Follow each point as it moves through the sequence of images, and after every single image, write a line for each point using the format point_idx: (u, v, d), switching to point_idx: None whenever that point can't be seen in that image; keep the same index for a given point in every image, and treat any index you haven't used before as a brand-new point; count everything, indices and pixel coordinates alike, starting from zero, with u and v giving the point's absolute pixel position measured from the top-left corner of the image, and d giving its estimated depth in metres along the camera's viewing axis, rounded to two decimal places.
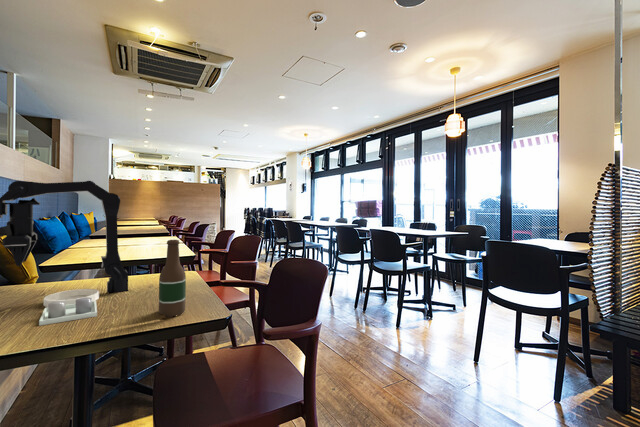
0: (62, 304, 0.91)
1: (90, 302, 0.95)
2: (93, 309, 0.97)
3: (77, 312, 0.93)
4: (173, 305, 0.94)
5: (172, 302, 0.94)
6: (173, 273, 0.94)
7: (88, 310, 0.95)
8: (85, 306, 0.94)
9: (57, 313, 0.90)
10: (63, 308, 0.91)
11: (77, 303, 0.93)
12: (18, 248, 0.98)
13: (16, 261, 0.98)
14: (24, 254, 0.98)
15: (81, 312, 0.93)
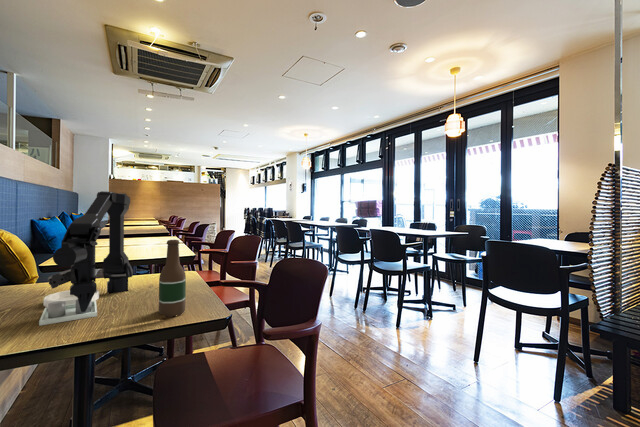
0: (62, 304, 0.91)
1: (90, 302, 0.95)
2: (93, 309, 0.97)
3: (77, 312, 0.93)
4: (173, 305, 0.94)
5: (172, 302, 0.94)
6: (173, 273, 0.94)
7: (88, 310, 0.95)
8: None
9: (57, 313, 0.90)
10: (63, 308, 0.91)
11: (77, 303, 0.93)
12: (84, 294, 0.92)
13: (81, 308, 0.93)
14: (89, 300, 0.93)
15: (81, 312, 0.93)
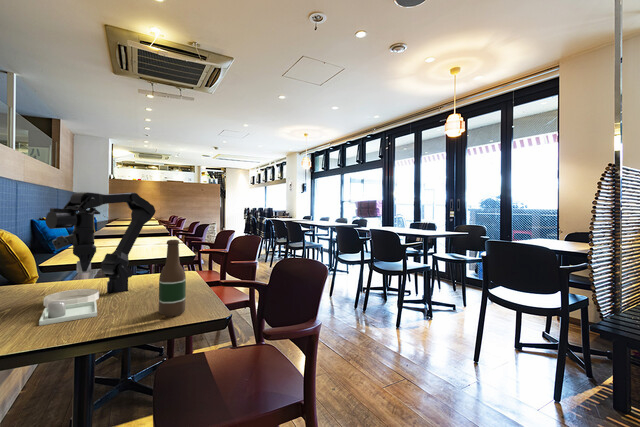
0: (62, 304, 0.91)
1: (90, 263, 1.07)
2: (93, 309, 0.97)
3: (78, 272, 1.05)
4: (173, 305, 0.94)
5: (172, 302, 0.94)
6: (173, 273, 0.94)
7: (88, 270, 1.07)
8: None
9: (57, 313, 0.90)
10: (63, 308, 0.91)
11: (78, 264, 1.05)
12: (84, 255, 1.05)
13: (82, 268, 1.05)
14: (89, 261, 1.05)
15: (82, 272, 1.05)
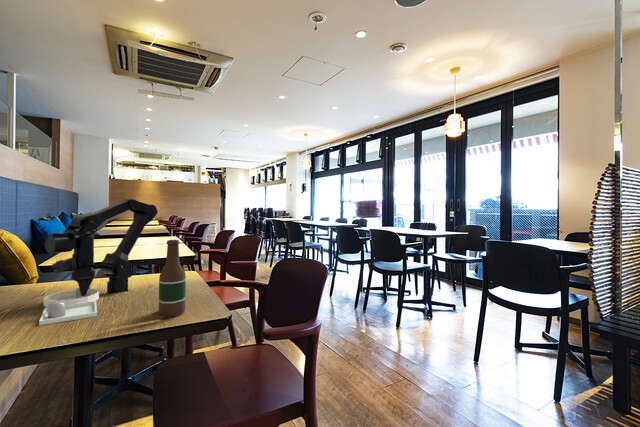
0: (62, 304, 0.91)
1: (89, 291, 1.08)
2: (93, 309, 0.97)
3: None
4: (173, 305, 0.94)
5: (172, 302, 0.94)
6: (173, 273, 0.94)
7: None
8: None
9: (57, 313, 0.90)
10: (63, 308, 0.91)
11: (77, 291, 1.06)
12: (83, 280, 1.04)
13: (81, 292, 1.04)
14: (88, 285, 1.04)
15: None
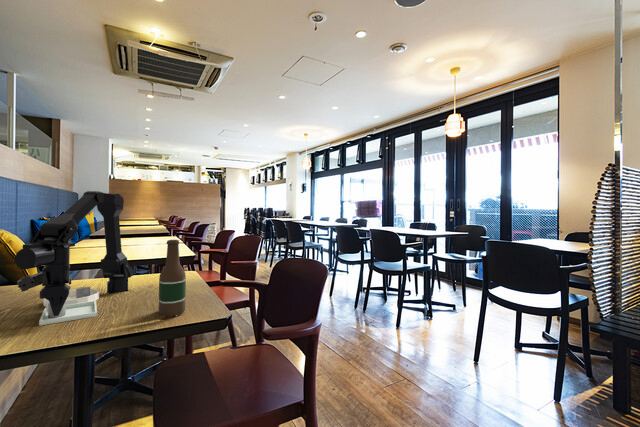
0: None
1: (89, 291, 1.08)
2: (93, 309, 0.97)
3: None
4: (173, 305, 0.94)
5: (172, 302, 0.94)
6: (173, 273, 0.94)
7: None
8: (84, 294, 1.07)
9: None
10: (63, 308, 0.91)
11: (77, 291, 1.06)
12: (56, 297, 0.88)
13: (54, 312, 0.89)
14: (62, 303, 0.89)
15: None
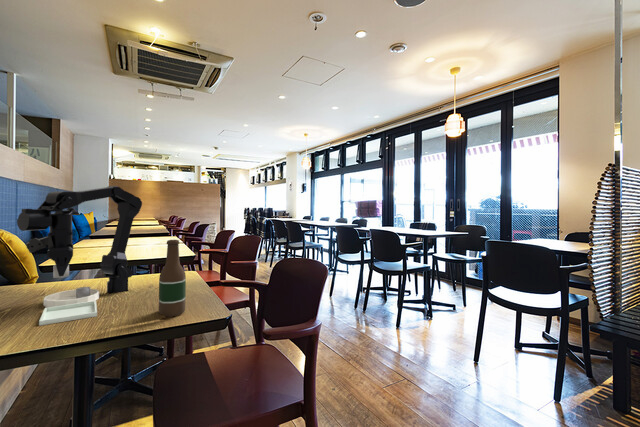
0: None
1: (89, 291, 1.08)
2: (93, 309, 0.97)
3: None
4: (173, 305, 0.94)
5: (172, 302, 0.94)
6: (173, 273, 0.94)
7: None
8: (84, 294, 1.07)
9: None
10: (67, 269, 1.01)
11: (77, 291, 1.06)
12: (61, 259, 0.98)
13: (59, 272, 0.98)
14: (67, 265, 0.99)
15: None
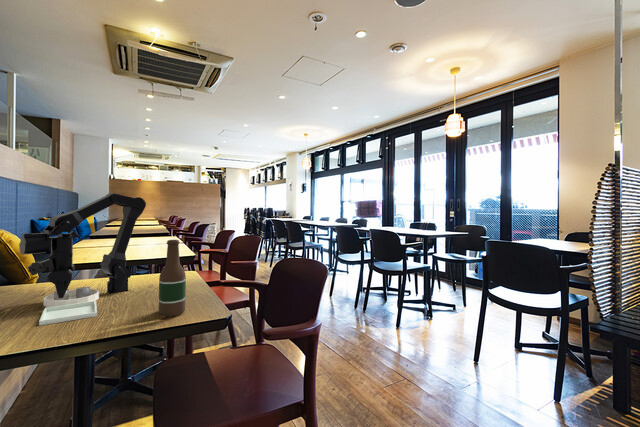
0: (66, 291, 1.04)
1: (89, 291, 1.08)
2: (93, 309, 0.97)
3: None
4: (173, 305, 0.94)
5: (172, 302, 0.94)
6: (173, 273, 0.94)
7: None
8: (84, 294, 1.07)
9: None
10: (67, 295, 1.04)
11: (77, 291, 1.06)
12: (61, 281, 1.01)
13: (59, 294, 1.01)
14: (66, 287, 1.01)
15: None
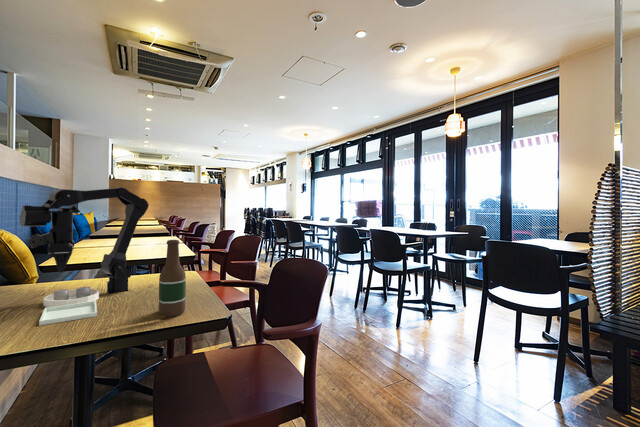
0: (66, 291, 1.04)
1: (89, 291, 1.08)
2: (93, 309, 0.97)
3: None
4: (173, 305, 0.94)
5: (172, 302, 0.94)
6: (173, 273, 0.94)
7: None
8: (84, 294, 1.07)
9: None
10: (67, 295, 1.04)
11: (77, 291, 1.06)
12: (61, 255, 1.00)
13: (58, 268, 1.00)
14: (66, 261, 1.00)
15: None
